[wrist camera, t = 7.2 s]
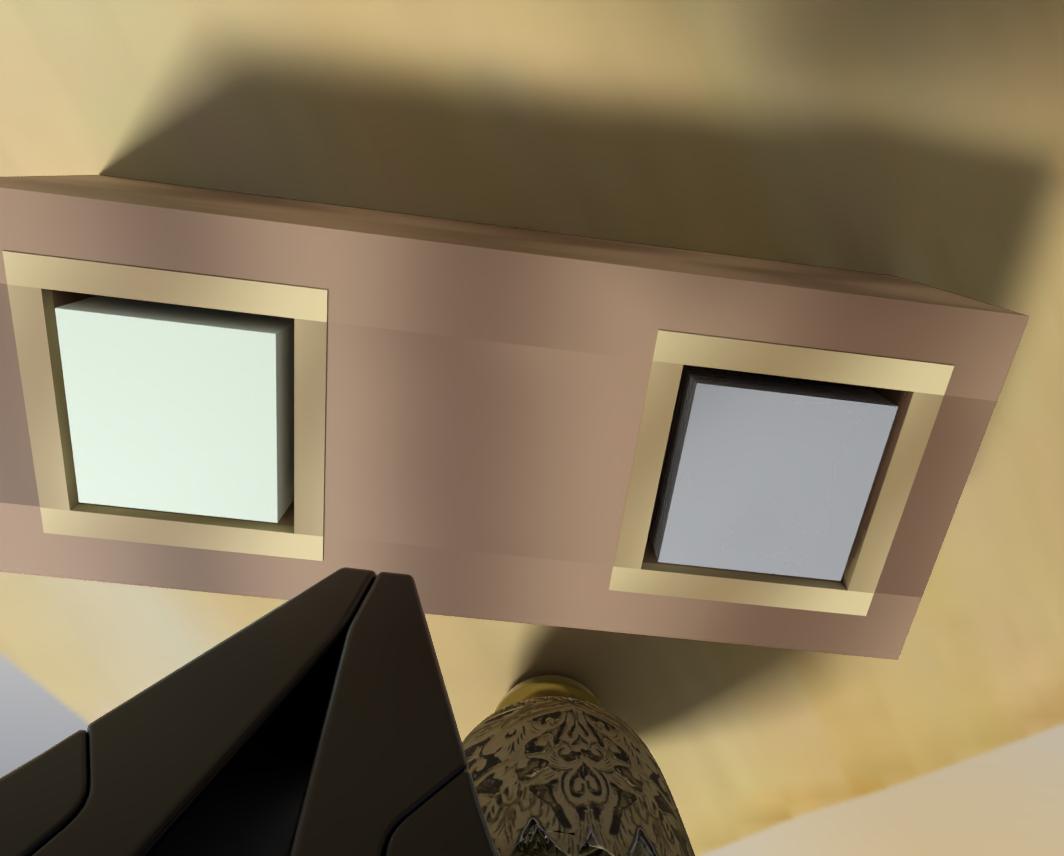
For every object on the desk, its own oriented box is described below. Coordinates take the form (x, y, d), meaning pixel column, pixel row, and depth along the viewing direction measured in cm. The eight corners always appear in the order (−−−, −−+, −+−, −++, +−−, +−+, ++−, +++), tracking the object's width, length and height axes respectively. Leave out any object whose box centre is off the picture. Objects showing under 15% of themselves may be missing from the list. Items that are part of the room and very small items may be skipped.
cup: (461, 593, 21) (425, 830, 13) (691, 639, 22) (778, 889, 14) (417, 773, 24) (366, 1056, 16) (624, 809, 24) (668, 1097, 17)
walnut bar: (895, 276, 18) (1030, 316, 13) (813, 547, 20) (898, 660, 16) (96, 174, 17) (-73, 178, 12) (125, 474, 19) (-3, 572, 15)
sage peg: (341, 290, 17) (275, 333, 13) (337, 437, 19) (277, 522, 14) (178, 270, 17) (55, 307, 13) (187, 420, 18) (79, 502, 14)
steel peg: (804, 346, 18) (898, 406, 13) (767, 484, 19) (840, 581, 15) (654, 328, 18) (697, 383, 13) (627, 469, 19) (658, 562, 15)
